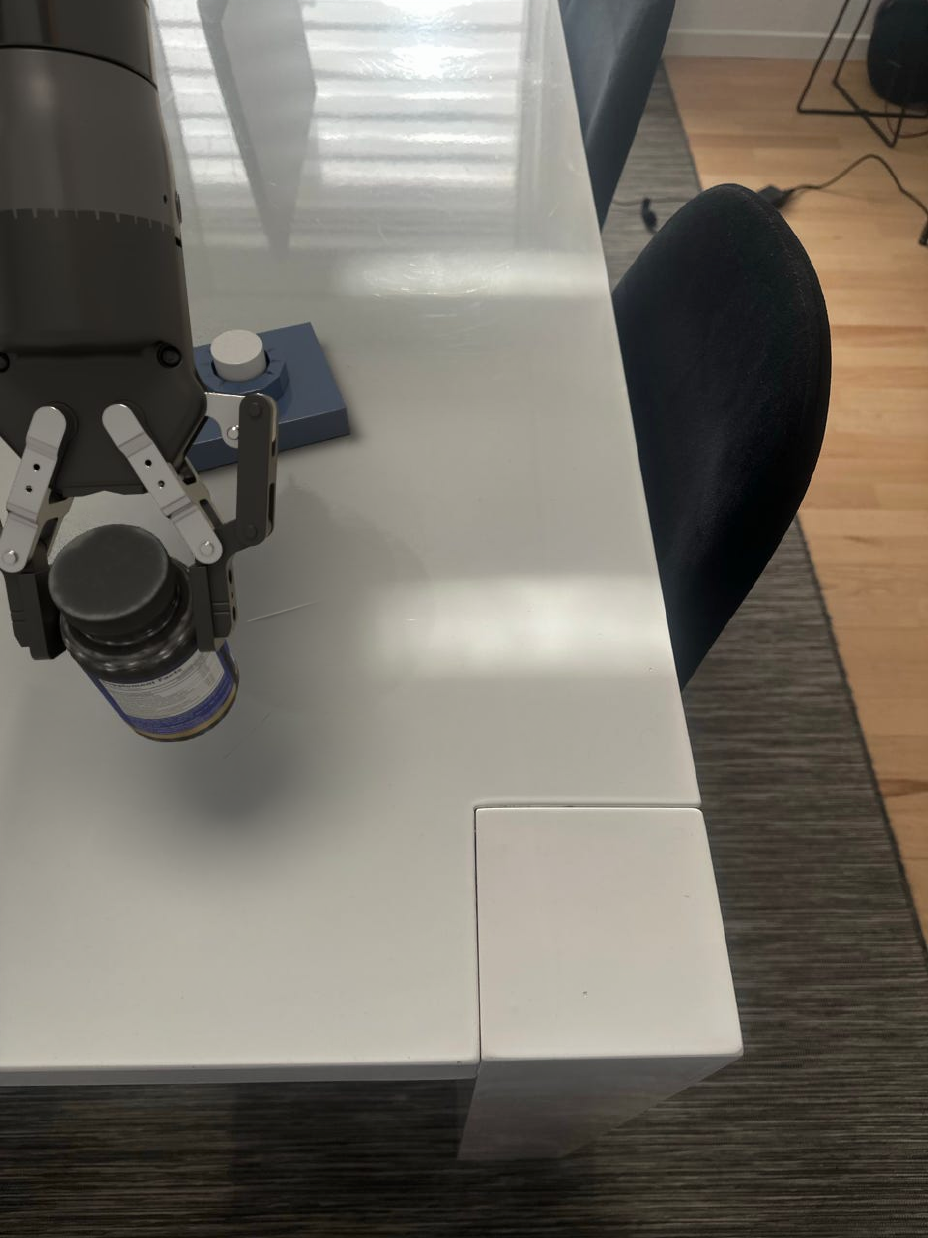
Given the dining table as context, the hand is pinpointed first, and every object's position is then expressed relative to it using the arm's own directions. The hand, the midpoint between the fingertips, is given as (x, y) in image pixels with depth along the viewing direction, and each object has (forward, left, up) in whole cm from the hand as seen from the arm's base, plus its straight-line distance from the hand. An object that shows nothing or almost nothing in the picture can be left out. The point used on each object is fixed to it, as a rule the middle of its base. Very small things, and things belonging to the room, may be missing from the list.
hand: (133, 650), depth 35 cm
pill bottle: (0, +2, -7) cm, 8 cm away
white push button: (+9, +34, -16) cm, 38 cm away
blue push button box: (+9, +34, -20) cm, 40 cm away
